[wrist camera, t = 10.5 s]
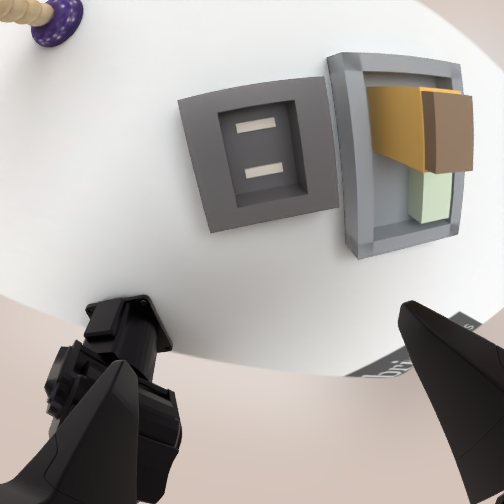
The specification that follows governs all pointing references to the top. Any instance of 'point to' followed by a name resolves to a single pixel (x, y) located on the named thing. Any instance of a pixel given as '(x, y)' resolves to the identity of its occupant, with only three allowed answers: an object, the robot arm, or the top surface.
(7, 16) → the toy lamp
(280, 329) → the top surface
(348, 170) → the parts tray
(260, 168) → the fuse holder
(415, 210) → the block
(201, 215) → the top surface
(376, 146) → the block
